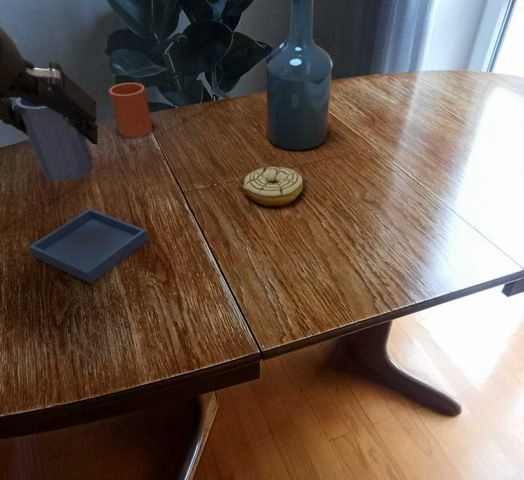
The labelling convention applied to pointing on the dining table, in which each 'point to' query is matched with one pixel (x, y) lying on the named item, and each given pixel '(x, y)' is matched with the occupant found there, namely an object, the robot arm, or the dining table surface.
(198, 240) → the dining table surface
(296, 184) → the decorated donut
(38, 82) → the robot arm
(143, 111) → the terracotta cup
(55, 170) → the blue cup
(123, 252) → the blue tray
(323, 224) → the dining table surface
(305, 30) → the wine bottle
